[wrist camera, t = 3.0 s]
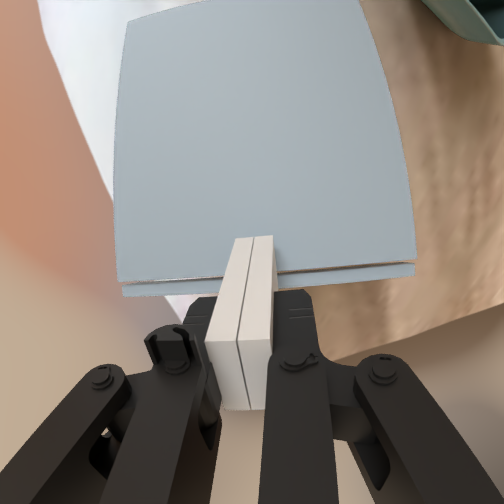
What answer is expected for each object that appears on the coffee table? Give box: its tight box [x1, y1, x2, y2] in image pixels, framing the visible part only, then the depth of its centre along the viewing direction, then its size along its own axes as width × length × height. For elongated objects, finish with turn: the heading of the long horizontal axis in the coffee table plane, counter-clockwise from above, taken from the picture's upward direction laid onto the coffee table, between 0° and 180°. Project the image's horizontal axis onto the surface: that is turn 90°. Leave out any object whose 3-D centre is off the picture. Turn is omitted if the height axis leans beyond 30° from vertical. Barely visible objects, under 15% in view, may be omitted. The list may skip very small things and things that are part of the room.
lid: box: [113, 0, 417, 297], centre depth 15 cm, size 17×14×2 cm
